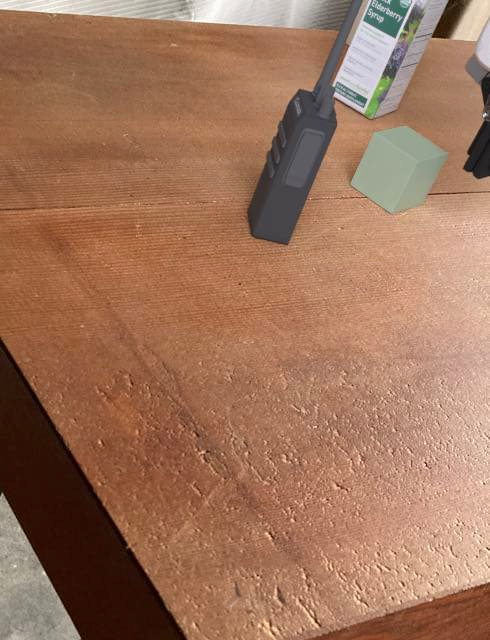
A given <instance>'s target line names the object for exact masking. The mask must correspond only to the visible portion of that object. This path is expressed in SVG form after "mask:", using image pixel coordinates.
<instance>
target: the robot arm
mask: <svg viewBox="0 0 490 640" xmlns="http://www.w3.org/2000/svg"><path fill="white" fill-rule="evenodd" d="M473 52H474V53H473V54H472V55H471V57H470V58H468V60H467V61H466V63H465V65H464V69H465V72H466V73H467V74H468V76H470V77H471V78H472V80H473V81H474V82H475V83H476V85H479V86H480V91H481V96H482V101H483V103H482V104H483V109H482V112H481V116H482V119H483V122H482V124H481V125H480V127H479V129H478V131H477V133H476V134H475V137H474V138H473V139H472V141H471V144H470V145H469V147H468V149H467V151H466V154H467V156H468V157H467V160H466V161H465V163H464V165H463V166H462V170H464V171H465V172H467V173H471V174H472V177H474V178H476V179H477V180H480V179H481V180H482V179H485V178H489V177H490V15H489V16H488V18H487V20H486V21H485V24H484V26H483V27H482V29H481V32H480V33H479V36H478V37H477V39H476V42H475V45H474V48H473Z"/></svg>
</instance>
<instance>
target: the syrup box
mask: <svg viewBox="0 0 490 640" xmlns="http://www.w3.org/2000/svg"><path fill="white" fill-rule="evenodd" d="M448 3H449V0H368V3H367V5H366V8H365V10H364V12H363V15H362V17H361V20H360V22H359V25H358V27H357V29H356V32H355V34H354V36H353V39H352V41H351V44H350V46H348V49H347V51H346V53H345V55H344V58H343V60H342V63H341V65H340V66H339V69H338V70H337V73H336V75H335V77H334V79H333V82H332V84H331V85H332V86H333V87H335V89H336V91H335V93H334V96H333V98H332V99H336V100H338V101H340V102H341V103H342V104H345V105H346V106H348V107H350V108H351V109H353V110H354V111H356V112H357V113H359V114H361V115H363V116H364V117H366V118H368V119H369V120H374V119H377V118H379V117H382V116H385V115H387V114H389V113H391V112H395V111H396V110H397V109H398V107H399V105H400V103H401V101H402V99H403V96H404V95H405V92H406V90H407V88H408V86H409V84H410V82H411V80H412V78H413V76H414V74H415V71H416V70H417V67H418V65H419V63H420V61H421V60H422V57H423V55H424V53H425V51H426V49H427V46H428V45H429V42H430V40H431V38H432V37H433V34H434V32H435V30H436V28H437V26H438V24H439V22H440V19H441V17H442V15H443V13H444V11H445V9H446V7H447V4H448Z"/></svg>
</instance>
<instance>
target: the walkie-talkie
mask: <svg viewBox="0 0 490 640" xmlns="http://www.w3.org/2000/svg"><path fill="white" fill-rule="evenodd" d="M362 2H363V0H351V3H350V5H349V7H348V9H347V11H346V14H345V17H344V19H343V21H342V23H341V26H340V29H339V31H338V33H337V35H336V38H335V40H334V43H333V45H332V48H331V50H330V51H329V53H328V57H327V59H326V62H325V63H324V65H323V68H322V71H321V73H320V75H319V78H317V81H316V83H315V85H314V87H313V88H312V91H311V90H307V89H303V88H298V90H297V91H296V93H294V95H293V97H292V98H291V99H290V100H289V102H288V104H287V106H286V108H285V111H284V114H283V116H282V118H281V120H279V122H278V124H277V132H276V134H275V135H273V137H272V140H271V143H270V144H271V146H270V150H267V153H266V156H265V159H266V160H265V163H264V165H263V169H262V170H261V173H260V176H259V179H258V181H257V184H256V187H255V190H254V192H253V194H252V197H251V200H250V202H249V205H248V207H247V215H248V220H249V225H250V231H251V232H250V233H251V236H252V237H253V238H257V239H260V240H265V241H270V242H273V243H277V244H281V245H286V246H288V245H289V243H290V241H291V238H292V236H293V233H294V231H295V229H296V226H297V223H298V221H299V219H300V216H301V214H302V211H303V209H304V207H305V204H306V203H307V200H308V197H309V195H310V192H311V190H312V187H313V186H314V183H315V180H316V178H317V175H318V173H319V171H320V169H321V167H322V166H321V165H322V163H323V161H324V159H325V156H326V154H327V151H328V149H329V146H330V144H331V141H332V139H333V137H334V135H335V132H336V130H337V127H338V119H337V113H336V109H335V105H336V100H335V98H333V96H334V93H335V91H336V89H335V87H333V86H332V84H331V82H332V79H333V77H334V73H335V72H336V68H337V67H338V63H339V61H340V58H341V56H342V54H343V51H344V49H345V46H346V45H347V44H346V41H347V39H348V36H349V33H350V31H351V28H352V26H353V24H354V21H355V19H356V16H357V14H358V12H359V9H360V7H361V4H362Z"/></svg>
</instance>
